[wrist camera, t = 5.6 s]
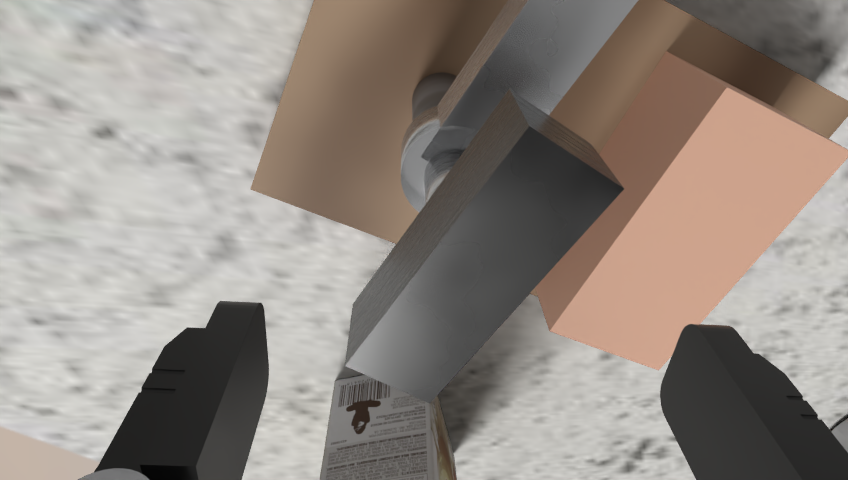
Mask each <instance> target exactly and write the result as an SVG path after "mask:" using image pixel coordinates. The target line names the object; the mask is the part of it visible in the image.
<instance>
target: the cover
mask: <svg viewBox="0 0 848 480" xmlns="http://www.w3.org/2000/svg"><path fill="white" fill-rule="evenodd" d="M599 155H600V157H601V158H602V159H603V161H604V162H605V163H606V165H607V166H608V167H609V169H610V170H611V171H612V173H613V174H614V175H615V177H616V178H617V179H618V181H619V182H620V183H621V185H622V186H623V187H624V190H623V191H622V192H621V193H620V194H619V195H618V197H617V198H616V199H615V200H614V201H613V202H612V203H611V204H610V205H609V206H608V208H607V209H606V210H605V211H604V212H603V213H602V214H601V215H600V216H599V218H598V219H597V220H596V221H595V222H594V223H593V224H592V225H591V226H590V227H589V229H588V230H587V231H586V232H585V233H584V234H583V235H582V236H581V237H580V238H579V240H578V241H577V242H576V243H575V244H574V245H573V246H572V247H571V248H570V249H569V251H568V252H567V253H566V254H565V255H564V256H563V257H562V258H561V259H560V261H559V262H558V263H557V264H556V265H555V266H554V267H553V268H552V269H551V270H550V272H549V273H548V274H547V275H546V276H545V277H544V278H543V279H542V280H541V281H540V283H539V284H538V285H537V286H536V287H535V289H536V292H537V295H538V298H539V301H540V304H541V307H542V310H543V313H544V316H545V319H546V322H547V325H548V328H549V331H550V332H553V333H556V334H559V335H562V336H564V337H567V338H570V339H573V340H575V341H578V342H581V343H584V344H587V345H589V346H592V347H595V348H598V349H601V350H603V351H606V352H609V353H612V354H615V355H617V356H620V357H623V358H626V359H628V360H631V361H634V362H637V363H640V364H642V365H645V366H648V367H651V368H654V369H656V370H659V369H660V368H661V367H662V366H663V365H664V364H665V363H666V362H667V360H668V359H669V358H670V357H671V356H672V355H673V352H674V350H675V347H676V344H677V342H678V339H679V337H680V334H681V332H682V330H683V328H684V327H685V326H687V325H689V324H700V323H701V322H702V321H703V320H704V319H705V318H706V317H707V316H708V314H709V313H710V312H711V311H712V310H713V309H714V308H715V307H716V305H717V304H718V303H719V302H720V301H721V300H722V299H723V298H724V296H725V295H726V294H727V293H728V292H729V291H730V290H731V289H732V287H733V286H734V285H735V284H736V283H737V282H738V281H739V280H740V278H741V277H742V276H743V275H744V274H745V273H746V272H747V271H748V269H749V268H750V267H751V266H752V265H753V264H754V263H755V262H756V260H757V259H758V258H759V257H760V256H761V255H762V254H763V253H764V251H765V250H766V249H767V248H768V247H769V246H770V245H771V244H772V242H773V241H774V240H775V239H776V238H777V237H778V236H779V235H780V233H781V232H782V231H783V230H784V229H785V228H786V227H787V226H788V224H789V223H790V222H791V221H792V220H793V219H794V218H795V217H796V215H797V214H798V213H799V212H800V211H801V210H802V209H803V208H804V206H805V205H806V204H807V203H808V202H809V201H810V200H811V199H812V197H813V196H814V195H815V194H816V193H817V192H818V191H819V190H820V188H821V187H822V186H823V185H824V184H825V183H826V182H827V181H828V179H829V178H830V177H831V176H832V175H833V174H834V173H835V172H836V170H837V169H838V168H839V167H840V166H841V165H842V164H843V163H844V161H845V160H846V159H847V158H848V150H847V149H846V148H844V147H842V146H840V145H839V144H837V143H835V142H833V141H832V140H830V139H828V138H826V137H825V136H823V135H821V134H819V133H818V132H816V131H814V130H812V129H811V128H809V127H807V126H805V125H804V124H802V123H800V122H799V121H797V120H795V119H793V118H792V117H790V116H788V115H786V114H785V113H783V112H781V111H779V110H778V109H776V108H774V107H772V106H771V105H769V104H767V103H765V102H763V101H761V100H759V99H757V98H755V97H753V96H751V95H749V94H748V93H746V92H744V91H742V90H740V89H738V88H736V87H734V86H732V85H730V84H728V83H726V82H725V81H723V80H721V79H719V78H717V77H715V76H713V75H711V74H709V73H707V72H705V71H703V70H702V69H700V68H698V67H696V66H694V65H692V64H690V63H688V62H686V61H684V60H682V59H681V58H679V57H677V56H675V55H673V54H671V53H669V52H667V51H666V52H665V54H664V55H663V57H662V58H661V60H660V61H659V63H658V64H657V66H656V68H655V69H654V71H653V72H652V74H651V75H650V77H649V78H648V80H647V81H646V83H645V84H644V86H643V87H642V89H641V91H640V92H639V94H638V95H637V97H636V98H635V100H634V101H633V103H632V104H631V106H630V107H629V109H628V110H627V112H626V114H625V115H624V117H623V118H622V120H621V121H620V123H619V124H618V126H617V127H616V129H615V130H614V132H613V133H612V135H611V136H610V138H609V140H608V141H607V143H606V144H605V146H604V147H603V149H602V150H601V152H600V153H599Z"/></svg>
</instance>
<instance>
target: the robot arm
mask: <svg viewBox="0 0 848 480" xmlns="http://www.w3.org/2000/svg"><path fill="white" fill-rule="evenodd" d="M268 376H269V363H268V351H267V339H266V327H265V315H264V308H263V305H262V303H251V302H230V301H220V302H219V303H218V304H217V306H216V308H215V310H214V312H213V314H212V316H211V318H210V320H209V322H208V324H207V326H206V328H186V329H185V330H184V331H183V332H181V333H180V334H179V335H178V336H176V337H175V338H174V339H173V340H172V341H170V342H169V343H168V344H167V345H166V346H165V347H164V348H163V350H162V352H161V354H160V356H159V357H158V359H157V361H156V363H155V365H154V366H153V368H152V373H150V374H149V375H148V377H147V379H146V381H145V383H144V384H143V386H142V391H141V393H138V395H137V397H136V399H135V401H134V402H133V404H132V406H131V408H130V410H129V411H128V413H127V415H126V417H125V419H124V420H123V422H122V424H121V426H120V428H119V429H118V431H117V433H116V435H115V437H114V438H113V440H112V442H111V444H110V446H109V447H108V449H107V451H106V453H105V455H104V456H103V458H102V460H101V462H100V464H99V466H98V467H97V468H96V470H95V471H94V473H91V474H89V475H86V476H84V477H82V478H80V479H78V480H242V476H243V473H244V469H245V466H246V462H247V459H248V456H249V452H250V449H251V445H252V442H253V439H254V435H255V432H256V428H257V425H258V422H259V418H260V415H261V411H262V408H263V405H264V401H265V397H266V393H267V386H268ZM802 397H803V396H802V395H801V393H800V392H799V391H798V390H797V388H796V387H795V386H794V385H793V383H792V382H791V381H790V380H789V378H788V377H787V376H786V375H785V374H784V373H783V372H782V371H781V370H779V369H778V368H777V367H775V366H774V365H773V364H771V363H770V362H769V361H767V360H766V359H765V358H763V357H762V356H761V355H759V354H754V353H753V352H752V351H751V350H750V348H749V347H748V346H747V344H746V343H745V342H744V340H743V339H742V338H741V337H740V335H739V334H738V333H737V331H736V330H735V329H734V328H732V327H730V326H722V325H700V324H689V325H687V326H685V327H684V328H683V330H682V332H681V334H680V337H679V339H678V342H677V344H676V347H675V350H674V352H673V355H672V357H671V360H670V363H669V365H668V368H667V370H666V373H665V376H664V378H663V381H662V384H661V391H660V398H661V406H662V410H663V413H664V416H665V418H666V420H667V422H668V424H669V426H670V428H671V430H672V432H673V434H674V436H675V438H676V440H677V442H678V444H679V446H680V448H681V450H682V452H683V454H684V456H685V458H686V460H687V462H688V464H689V466H690V468H691V470H692V472H693V474H694V476H695V478H696V480H848V418H847V419H846V420H845V421H843V422H842V423H841V424H839V425H838V426H837V427H835V428H834V429H833V430H832V431H830V430H829V428H828V427H827V426H826V425H825V423H824V422H823V421H822V420H818V418H817V416H818V415H817V413H816V412H815V411H814V410H813V408H812V407H811V406H810V405H809V403H808V402H807V401H803V399H802Z"/></svg>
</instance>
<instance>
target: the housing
mask: <svg viewBox="0 0 848 480" xmlns="http://www.w3.org/2000/svg"><path fill="white" fill-rule="evenodd" d="M507 1H508V0H314V2H313V5H312V8H311V11H310V14H309V17H308V20H307V23H306V26H305V29H304V32H303V34H302V37H301V40H300V43H299V46H298V49H297V52H296V55H295V58H294V61H293V64H292V67H291V70H290V73H289V76H288V79H287V82H286V85H285V88H284V91H283V94H282V97H281V100H280V103H279V106H278V109H277V112H276V115H275V118H274V121H273V124H272V127H271V130H270V133H269V136H268V139H267V142H266V145H265V148H264V151H263V153H262V156H261V159H260V162H259V165H258V168H257V171H256V174H255V177H254V180H253V183H252V186H251V190H254V191H256V192H259V193H262V194H264V195H267V196H270V197H272V198H275V199H278V200H280V201H283V202H286V203H288V204H291V205H294V206H296V207H299V208H302V209H305V210H307V211H310V212H313V213H315V214H318V215H321V216H323V217H326V218H329V219H331V220H334V221H337V222H339V223H342V224H345V225H347V226H350V227H353V228H355V229H358V230H361V231H363V232H366V233H369V234H372V235H374V236H377V237H380V238H382V239H385V240H388V241H390V242H393V243H396V244H397V243H398V241H399V240H400V239H401V237H402V236H403V234H404V233H405V232H406V230H407V229H408V228H409V226H410V225H411V223H412V222H413V221H414V219H415V218H416V217H417V215H418V214H419V212H418V211H417V210H416V209H414V207H413V206H412V205H411V204H410V203H409V201H408V200H407V198H406V196H405V194H404V192H403V189H402V184H401V146H402V141H403V137H404V135H405V132H406V130H407V128H408V127H409V125H410V124H411V123H412V121H413V120H414V119H415V118H416V117H417V116H419V115H420V114H421V113H423V112H424V111H426V110H428V109H430V108H432V107H435V106H437V105H438V104H439V102H440V101H441V99H442V98H443V96H444V95H445V94H446V92H447V91H448V89H449V88H450V86H451V85H452V83H453V82H454V80H455V79H456V77H457V76H458V74H459V73H460V71H461V70H462V68H463V67H464V65H465V64H466V62H467V61H468V59H469V58H470V56H471V55H472V53H473V52H474V50H475V49H476V47H477V46H478V44H479V43H480V42H481V40H482V39H483V37H484V36H485V34H486V33H487V31H488V30H489V28H490V27H491V25H492V24H493V22H494V21H495V19H496V18H497V16H498V15H499V13H500V12H501V10H502V9H503V7H504V6H505V4H506V3H507ZM666 51H667V52H669V53H671V54H673V55H675V56H677V57H679V58H681V59H682V60H684V61H686V62H688V63H690V64H692V65H694V66H696V67H698V68H700V69H702V70H703V71H705V72H707V73H709V74H711V75H713V76H715V77H717V78H719V79H721V80H723V81H725V82H726V83H728V84H730V85H732V86H734V87H736V88H738V89H740V90H742V91H744V92H746V93H748V94H749V95H751V96H753V97H755V98H757V99H759V100H761V101H763V102H765V103H767V104H769V105H771V106H772V107H774V108H776V109H778V110H779V111H781V112H783V113H785V114H786V115H788V116H790V117H792V118H793V119H795V120H797V121H799V122H800V123H802V124H804V125H805V126H807V127H809V128H811V129H812V130H814V131H816V132H818V133H819V134H821V135H823V136H825V137H826V138H828V139H829V138H830V136H831V135H832V134H833V133H834V132H835V131H836V129H837V128H838V127H839V126H840V125H841V124H842V122H843V121H844V120H845V119H846V118H847V117H848V101H847V100H845V99H844V98H842V97H840V96H838V95H836V94H835V93H833V92H831V91H829V90H827V89H825V88H824V87H822V86H820V85H818V84H816V83H814V82H813V81H811V80H809V79H807V78H805V77H803V76H802V75H800V74H798V73H796V72H794V71H793V70H791V69H789V68H787V67H785V66H783V65H782V64H780V63H778V62H776V61H774V60H772V59H771V58H769V57H767V56H765V55H763V54H761V53H760V52H758V51H756V50H754V49H752V48H751V47H749V46H747V45H745V44H743V43H741V42H740V41H738V40H736V39H734V38H732V37H730V36H729V35H727V34H725V33H723V32H721V31H719V30H718V29H716V28H714V27H712V26H710V25H708V24H707V23H705V22H703V21H701V20H699V19H698V18H696V17H694V16H692V15H690V14H688V13H687V12H685V11H683V10H681V9H679V8H677V7H676V6H674V5H672V4H670V3H668V2H666V1H665V0H638V1H637V3H636V4H635V5H634V7H633V8H632V9H631V10H630V12H629V13H628V14H627V16H626V17H625V18H624V19H623V21H622V22H621V23H620V25H619V26H618V27H617V28H616V30H615V31H614V32H613V34H612V35H611V36H610V37H609V39H608V40H607V41H606V43H605V44H604V45H603V46H602V48H601V49H600V50H599V51H598V53H597V54H596V55H595V57H594V58H593V59H592V60H591V62H590V63H589V64H588V66H587V67H586V68H585V69H584V71H583V72H582V73H581V75H580V76H579V77H578V78H577V80H576V81H575V82H574V84H573V85H572V86H571V87H570V89H569V90H568V91H567V93H566V94H565V95H564V96H563V98H562V99H561V100H560V102H559V103H558V104H557V105H556V107H555V108H554V109H553V111H552V112H551V113H550V114H549V116H551V117H552V118H554V119H555V120H557V121H558V122H560V123H561V124H562V125H564V126H565V127H567V128H568V129H570V130H571V131H573V132H574V133H576V134H577V135H579V136H580V137H582V138H583V139H585V140H586V141H588V142H589V143H591V144H592V146H593V147H594V148H595V150H596V151H597V153H598V154H599V153H600V152H601V150H602V149H603V147H604V146H605V144H606V143H607V141H608V140H609V138H610V136H611V135H612V133H613V132H614V130H615V129H616V127H617V126H618V124H619V123H620V121H621V120H622V118H623V117H624V115H625V114H626V112H627V110H628V109H629V107H630V106H631V104H632V103H633V101H634V100H635V98H636V97H637V95H638V94H639V92H640V91H641V89H642V87H643V86H644V84H645V83H646V81H647V80H648V78H649V77H650V75H651V74H652V72H653V71H654V69H655V68H656V66H657V64H658V63H659V61H660V60H661V58H662V57H663V55H664V54H665V52H666ZM530 294H532V295H535V296H538V295H537V292H536V289H535V288H534V289H533V290H532V291H531V293H530Z"/></svg>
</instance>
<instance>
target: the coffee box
mask: <svg viewBox="0 0 848 480" xmlns="http://www.w3.org/2000/svg"><path fill="white" fill-rule="evenodd" d="M320 480H457V477H456V467H455V459H454V454H453V450H452V446H451V443H450V439H449V435H448V432H447V428H446V424H445V421H444V417H443V413H442V409H441V406H440V402H439V398H438V395H437V396H436V397H435V398H434V399H433V401H432V402H431V403H427V402H425V401H423V400H421V399H418V398H416V397H414V396H412V395H409V394H407V393H405V392H403V391H400V390H398V389H396V388H394V387H391V386H389V385H387V384H385V383H382V382H380V381H378V380H375V379H373V378H371V377H369V376H366V375H361V376H356V377H351V378H345V379H340V380H336V381H335V383H334V391H333V397H332V404H331V410H330V417H329V423H328V429H327V436H326V442H325V449H324V456H323V462H322V468H321V474H320Z"/></svg>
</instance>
